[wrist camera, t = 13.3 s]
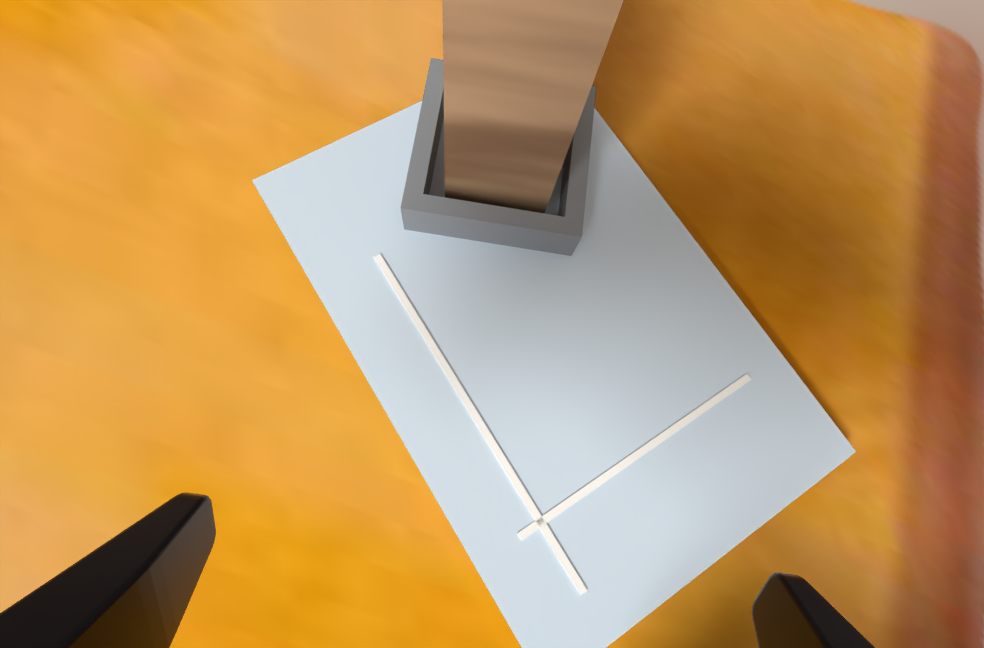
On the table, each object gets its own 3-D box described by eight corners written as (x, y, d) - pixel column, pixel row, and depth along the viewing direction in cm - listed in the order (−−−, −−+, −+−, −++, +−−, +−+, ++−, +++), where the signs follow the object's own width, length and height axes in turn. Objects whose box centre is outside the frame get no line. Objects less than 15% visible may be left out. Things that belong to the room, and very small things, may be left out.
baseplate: (842, 452, 23) (894, 449, 21) (544, 684, 20) (559, 717, 17) (539, 50, 28) (548, 4, 25) (254, 183, 24) (230, 148, 22)
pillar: (542, 219, 24) (641, -48, 12) (444, 204, 24) (441, -83, 12) (551, 136, 26) (650, -185, 13) (459, 121, 25) (470, -219, 13)
